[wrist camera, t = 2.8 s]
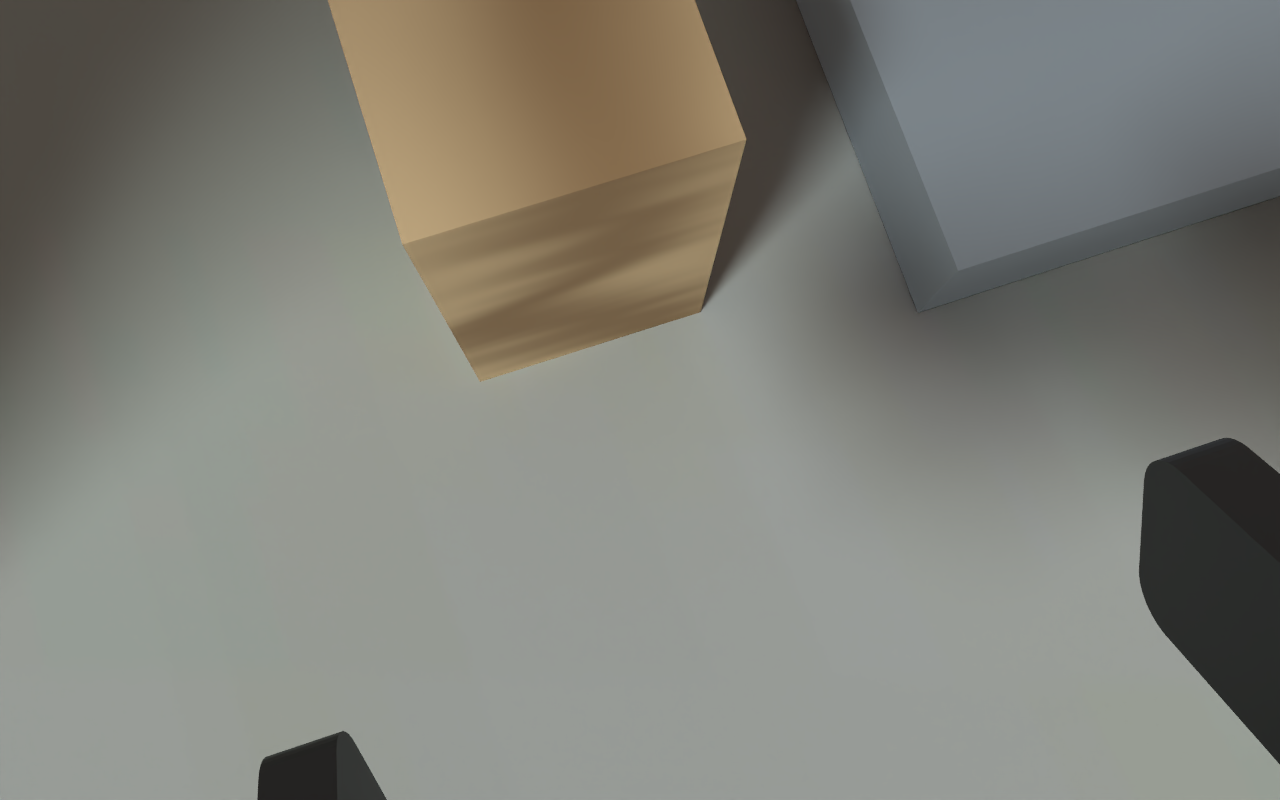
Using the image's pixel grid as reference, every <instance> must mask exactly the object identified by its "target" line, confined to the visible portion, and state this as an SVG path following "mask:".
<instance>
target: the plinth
mask: <svg viewBox="0 0 1280 800" xmlns="http://www.w3.org/2000/svg"><path fill="white" fill-rule="evenodd" d="M796 1H797V4H798V7H799V9H800V12H801V14H802V17H803V19H804V22H805V24H806V27H807V30H808V32H809V35H810V37H811V40H812V42H813V45H814V48H815V50H816V53H817V55H818V58H819V60H820V63H821V65H822V68H823V71H824V73H825V76H826V78H827V81H828V83H829V86H830V89H831V91H832V94H833V96H834V99H835V101H836V104H837V107H838V109H839V112H840V114H841V117H842V119H843V122H844V124H845V127H846V130H847V132H848V135H849V137H850V140H851V142H852V145H853V148H854V150H855V153H856V155H857V158H858V160H859V163H860V166H861V168H862V171H863V173H864V176H865V178H866V181H867V183H868V186H869V189H870V191H871V194H872V196H873V199H874V201H875V204H876V207H877V209H878V212H879V214H880V217H881V219H882V222H883V224H884V227H885V230H886V232H887V235H888V237H889V240H890V242H891V245H892V248H893V250H894V253H895V255H896V258H897V260H898V263H899V266H900V268H901V271H902V273H903V276H904V278H905V281H906V283H907V286H908V289H909V291H910V294H911V296H912V299H913V301H914V304H915V307H916V309H917V312H918V313H919V312H922V311H925V310H928V309H931V308H934V307H937V306H940V305H943V304H946V303H950V302H953V301H956V300H959V299H962V298H965V297H968V296H971V295H974V294H977V293H981V292H984V291H987V290H990V289H993V288H996V287H999V286H1002V285H1005V284H1009V283H1012V282H1015V281H1018V280H1021V279H1024V278H1027V277H1030V276H1033V275H1036V274H1040V273H1043V272H1046V271H1049V270H1052V269H1055V268H1058V267H1061V266H1064V265H1067V264H1071V263H1074V262H1077V261H1080V260H1083V259H1086V258H1089V257H1092V256H1095V255H1099V254H1102V253H1105V252H1108V251H1111V250H1114V249H1117V248H1120V247H1123V246H1126V245H1130V244H1133V243H1136V242H1139V241H1142V240H1145V239H1148V238H1151V237H1154V236H1158V235H1161V234H1164V233H1167V232H1170V231H1173V230H1176V229H1179V228H1182V227H1185V226H1189V225H1192V224H1195V223H1198V222H1201V221H1204V220H1207V219H1210V218H1213V217H1216V216H1220V215H1223V214H1226V213H1229V212H1232V211H1235V210H1238V209H1241V208H1244V207H1248V206H1251V205H1254V204H1257V203H1260V202H1263V201H1266V200H1269V199H1272V198H1275V197H1279V196H1280V0H796Z"/></svg>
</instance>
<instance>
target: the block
mask: <svg viewBox="0 0 1280 800" xmlns="http://www.w3.org/2000/svg"><path fill="white" fill-rule="evenodd" d="M328 3H329V6H330V9H331V12H332V16H333V19H334V22H335V25H336V29H337V32H338V35H339V38H340V42H341V45H342V48H343V52H344V55H345V58H346V61H347V65H348V68H349V71H350V74H351V78H352V81H353V84H354V88H355V91H356V94H357V97H358V101H359V104H360V107H361V110H362V114H363V117H364V120H365V123H366V127H367V130H368V133H369V137H370V140H371V143H372V146H373V150H374V153H375V156H376V159H377V163H378V166H379V169H380V172H381V176H382V179H383V182H384V186H385V189H386V192H387V195H388V199H389V202H390V205H391V208H392V212H393V215H394V218H395V221H396V225H397V228H398V231H399V235H400V238H401V241H402V244H403V246H404V248H405V250H406V251H407V253H408V255H409V257H410V259H411V260H412V262H413V264H414V266H415V267H416V269H417V271H418V273H419V274H420V276H421V278H422V280H423V282H424V283H425V285H426V287H427V289H428V290H429V292H430V294H431V296H432V297H433V299H434V301H435V303H436V305H437V306H438V308H439V310H440V312H441V313H442V315H443V317H444V319H445V320H446V322H447V324H448V326H449V328H450V329H451V331H452V333H453V335H454V336H455V338H456V340H457V342H458V343H459V345H460V347H461V349H462V351H463V352H464V354H465V356H466V358H467V359H468V361H469V363H470V365H471V366H472V368H473V370H474V372H475V374H476V375H477V377H478V379H479V381H480V382H481V381H484V380H487V379H490V378H494V377H497V376H500V375H503V374H506V373H509V372H513V371H516V370H519V369H522V368H525V367H528V366H531V365H535V364H538V363H541V362H544V361H547V360H550V359H554V358H557V357H560V356H563V355H566V354H569V353H572V352H576V351H579V350H582V349H585V348H588V347H591V346H595V345H598V344H601V343H604V342H607V341H610V340H614V339H617V338H620V337H623V336H626V335H629V334H632V333H636V332H639V331H642V330H645V329H648V328H651V327H655V326H658V325H661V324H664V323H667V322H670V321H673V320H677V319H680V318H683V317H686V316H689V315H692V314H696V313H699V312H701V308H702V305H703V301H704V297H705V293H706V290H707V286H708V282H709V278H710V275H711V271H712V267H713V263H714V260H715V256H716V252H717V248H718V245H719V241H720V237H721V233H722V230H723V226H724V222H725V218H726V215H727V211H728V207H729V203H730V200H731V196H732V192H733V188H734V185H735V181H736V177H737V173H738V170H739V166H740V162H741V158H742V155H743V151H744V147H745V143H746V140H747V139H746V137H745V134H744V131H743V129H742V126H741V123H740V121H739V118H738V115H737V112H736V110H735V107H734V104H733V102H732V99H731V96H730V94H729V91H728V88H727V86H726V83H725V80H724V77H723V75H722V72H721V69H720V67H719V64H718V61H717V59H716V56H715V53H714V51H713V48H712V45H711V43H710V40H709V37H708V34H707V32H706V29H705V26H704V24H703V21H702V18H701V16H700V13H699V10H698V8H697V5H696V2H695V0H328Z"/></svg>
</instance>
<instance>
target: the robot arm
mask: <svg viewBox="0 0 1280 800" xmlns="http://www.w3.org/2000/svg"><path fill="white" fill-rule="evenodd" d="M1139 577H1140V584H1141V588H1142V592H1143V595H1144V598H1145V601H1146V603H1147V606H1148V608H1149V610H1150V612H1151V614H1152V616H1153V617H1154V619H1155V621H1156V623H1157V624H1158V625H1159V627H1160V628H1161V630H1162V631H1163V632H1164V634H1165V635H1166V636H1167V637H1168V638H1169V639H1170V641H1171V642H1172V643H1173V644H1174V645H1175V646H1176V647H1177V648H1178V650H1179V651H1180V652H1181V653H1182V654H1183V655H1184V656H1185V658H1186V659H1187V660H1188V661H1189V662H1190V663H1191V664H1192V665H1193V667H1194V668H1195V669H1196V670H1197V671H1198V672H1199V673H1200V674H1201V676H1202V677H1203V678H1204V679H1205V680H1206V681H1207V682H1208V684H1209V685H1210V686H1211V687H1212V688H1213V689H1214V690H1215V691H1216V693H1217V694H1218V695H1219V696H1220V697H1221V698H1222V699H1223V701H1224V702H1225V703H1226V704H1227V705H1228V706H1229V707H1230V708H1231V710H1232V711H1233V712H1234V713H1235V714H1236V715H1237V716H1238V717H1239V719H1240V720H1241V721H1242V722H1243V723H1244V724H1245V725H1246V727H1247V728H1248V729H1249V730H1250V731H1251V732H1252V733H1253V734H1254V736H1255V737H1256V738H1257V739H1258V740H1259V741H1260V742H1261V744H1262V745H1263V746H1264V747H1265V748H1266V749H1267V750H1268V751H1269V753H1270V754H1271V755H1272V756H1273V757H1274V758H1275V759H1276V760H1277V762H1278V763H1279V764H1280V474H1279V473H1278V472H1277V471H1276V470H1274V469H1273V468H1272V467H1271V466H1270V465H1268V464H1267V463H1266V462H1265V461H1264V460H1262V459H1261V458H1260V457H1259V456H1258V455H1256V454H1255V453H1254V452H1253V451H1252V450H1250V449H1249V448H1248V447H1247V446H1245V445H1244V444H1242V443H1241V442H1239V441H1237V440H1234V439H1231V438H1222V439H1219V440H1216V441H1213V442H1210V443H1207V444H1204V445H1201V446H1198V447H1195V448H1192V449H1189V450H1186V451H1183V452H1181V453H1178V454H1175V455H1172V456H1169V457H1166V458H1163V459H1160V460H1157V461H1154V462H1152V463H1151V464H1150V465H1149V466H1148V468H1147V470H1146V473H1145V478H1144V493H1143V510H1142V528H1141V546H1140V563H1139ZM258 800H387V799H386V797H385V796H384V794H383V792H382V790H381V789H380V787H379V785H378V783H377V781H376V780H375V778H374V776H373V774H372V773H371V771H370V769H369V767H368V765H367V764H366V762H365V760H364V758H363V756H362V755H361V753H360V751H359V749H358V748H357V746H356V744H355V742H354V741H353V739H352V738H351V736H350V735H349V734H348V733H346V732H344V731H342V732H339V733H336V734H333V735H330V736H327V737H324V738H321V739H318V740H315V741H312V742H309V743H306V744H303V745H300V746H297V747H294V748H291V749H288V750H285V751H282V752H279V753H276V754H273V755H270V756H268V757H265V758H264V759H263V761H262V763H261V766H260V770H259V781H258Z"/></svg>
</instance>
